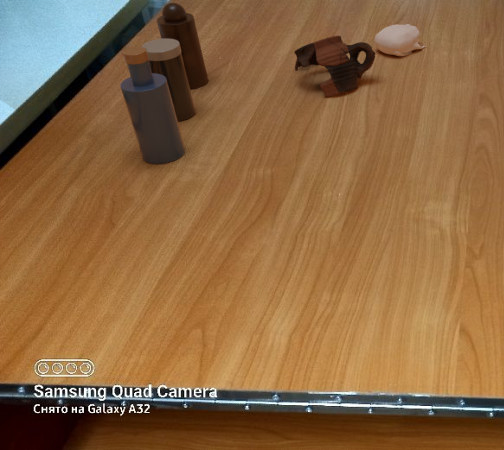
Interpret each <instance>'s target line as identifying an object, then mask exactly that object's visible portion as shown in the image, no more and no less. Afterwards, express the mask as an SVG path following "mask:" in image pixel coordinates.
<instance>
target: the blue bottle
mask: <svg viewBox="0 0 504 450" xmlns="http://www.w3.org/2000/svg"><path fill="white" fill-rule="evenodd" d="M122 57H123V59H124V62H125V64H126V66H127V69H128V73H129V77H126V78H125V79H124V80H122V82H120V84H119V86H120V90H121V93H122V96H123V100H124V103H125V106H126V109H127V112H128V116H129V119H130V122H131V125H132V129H133V132H134V135H135V138H136V142H137V145H138V148H139V152H140V154H141V159H142V160H143V161H144V162H145V163H148V164H152V165H163V164H168V163H169V164H170V163H171V162H174V161H177V160H179V159H181V158H182V157H183V156H184V155H185V153H186V146H185V143H184V139H183V135H182V131H181V128H180V124H179V121H178V120H177V116H176V113H175V109H174V105H173V101H172V98H171V94H170V90H169V87H168V83H167V79H166V77H165V76H163V75H161V74H156V73H152V71H151V68H150V64H149V60H148V59H149V57H148V53H147V50H146V48H144V47H141V46H131V47H128V48H126V49H124V50H123V51H122Z"/></svg>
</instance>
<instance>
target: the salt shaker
mask: <svg viewBox="0 0 504 450" xmlns="http://www.w3.org/2000/svg"><path fill="white" fill-rule="evenodd" d="M140 47H144V48H146V50H147V53H148V57H149V59H148V60H149V64H150V68H151V71H152V73H156V74H161V75H163V76H165V77H166V79H167V83H168V87H169V90H170V94H171V98H172V101H173V105H174V109H175V113H176V116H177V120H178V122H184V121H186V120H189V119H191V118H192V117H194V116H195V114H196V113H197V112H196V107H195V102H194V98H193V95H192V89H190V86H189V82H188V78H187V74H186V70H185V66H184V62H183V58H182V54H181V47H180V43H179V41H177V40H175V39H161V38H157V39H152V40H149V41H147V42H144V43H143V44H141V46H140Z"/></svg>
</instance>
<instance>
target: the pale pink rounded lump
mask: <svg viewBox="0 0 504 450" xmlns="http://www.w3.org/2000/svg"><path fill="white" fill-rule="evenodd" d="M420 37H421V32H420V31H419V29H418V27H417V26H416V25H411V24H410V23H406V24H391V25H388V26H386V27H384V28H383V29H381V30H379V32H377V34H375V36H374V40H373V41H374V47H375V48H376V49H377V50H378V51H380V52H381V53H384V54H385V55H393V56H397V57H405V56H408V55H412V53H413V51H414V50H423V49H425V48H426V47H427V45H421V44H419V40H420Z"/></svg>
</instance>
